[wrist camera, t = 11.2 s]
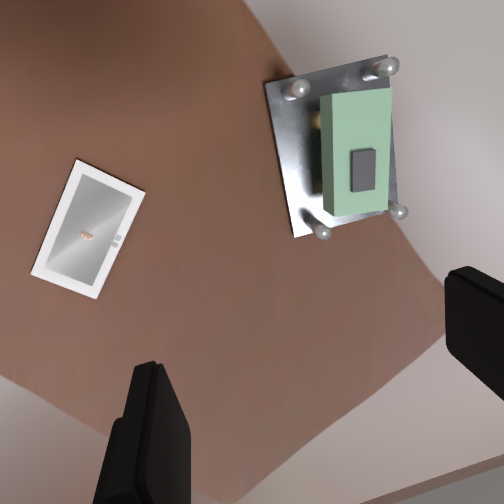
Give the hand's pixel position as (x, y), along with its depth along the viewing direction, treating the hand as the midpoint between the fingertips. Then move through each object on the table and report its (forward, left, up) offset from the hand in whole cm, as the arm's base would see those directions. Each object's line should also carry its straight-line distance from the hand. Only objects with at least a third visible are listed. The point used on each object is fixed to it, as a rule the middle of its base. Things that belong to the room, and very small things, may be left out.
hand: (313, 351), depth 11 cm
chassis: (-1, +14, -33) cm, 35 cm away
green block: (-1, +14, -29) cm, 32 cm away
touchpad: (+1, -17, -33) cm, 38 cm away
